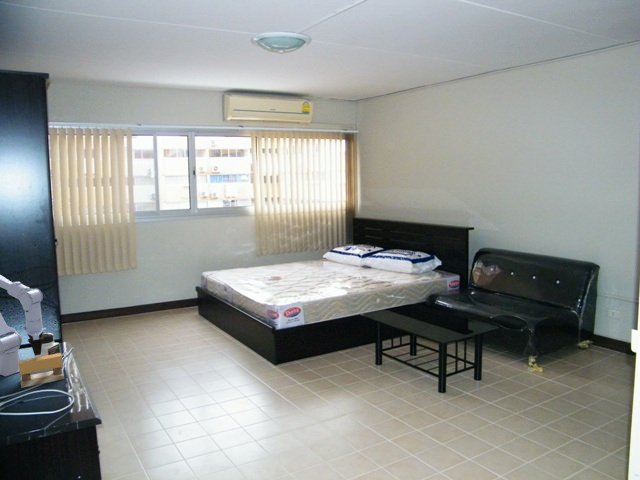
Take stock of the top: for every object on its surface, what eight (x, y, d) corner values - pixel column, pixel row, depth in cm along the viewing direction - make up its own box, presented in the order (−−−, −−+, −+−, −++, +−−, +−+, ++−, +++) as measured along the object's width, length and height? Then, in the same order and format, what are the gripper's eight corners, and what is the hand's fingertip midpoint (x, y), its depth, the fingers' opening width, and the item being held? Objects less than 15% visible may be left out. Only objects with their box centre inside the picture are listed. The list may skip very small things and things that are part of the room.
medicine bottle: (49, 364, 224) (46, 337, 222) (35, 363, 225) (32, 336, 223) (60, 358, 231) (58, 332, 229) (46, 357, 232) (44, 331, 230)
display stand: (21, 387, 200) (19, 376, 199) (20, 380, 207) (19, 369, 206) (64, 378, 207) (63, 368, 207) (62, 372, 214) (61, 361, 214)
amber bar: (20, 375, 201) (18, 363, 200) (19, 371, 204) (18, 360, 204) (62, 366, 208) (61, 355, 208) (62, 363, 212) (61, 352, 211)
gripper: (46, 322, 204) (49, 355, 206) (44, 313, 217) (47, 344, 219) (25, 325, 201) (29, 359, 203) (24, 316, 213) (28, 348, 215)
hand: (37, 352), depth 210 cm, fingers open, 7 cm apart
